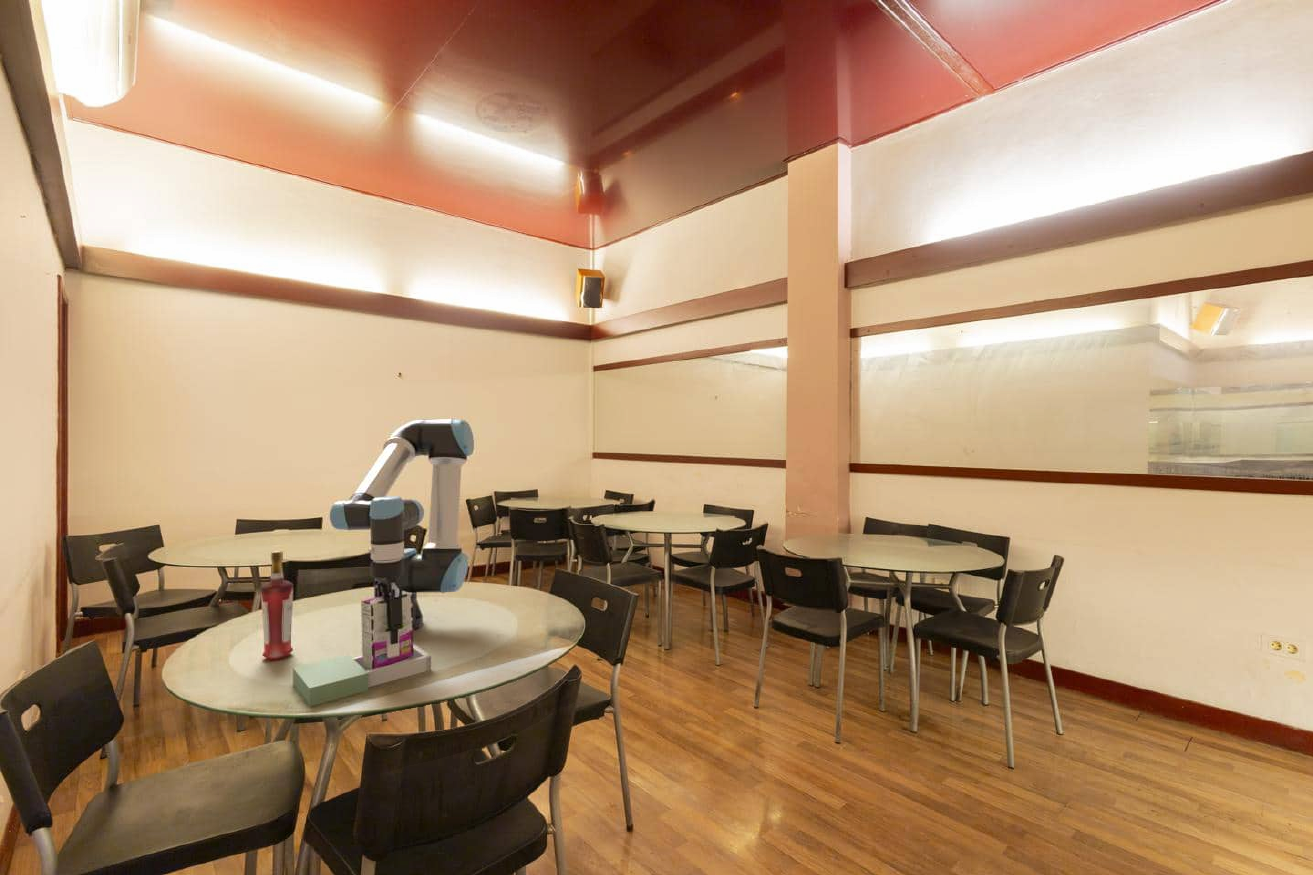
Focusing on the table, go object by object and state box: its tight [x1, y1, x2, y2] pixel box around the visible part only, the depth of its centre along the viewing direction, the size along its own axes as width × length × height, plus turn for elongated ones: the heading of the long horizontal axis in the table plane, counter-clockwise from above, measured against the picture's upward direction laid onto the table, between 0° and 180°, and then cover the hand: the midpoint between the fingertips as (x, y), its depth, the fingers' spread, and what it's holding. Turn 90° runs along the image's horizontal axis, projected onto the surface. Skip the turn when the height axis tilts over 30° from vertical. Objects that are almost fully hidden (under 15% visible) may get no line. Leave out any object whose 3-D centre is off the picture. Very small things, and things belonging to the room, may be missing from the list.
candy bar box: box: [360, 591, 414, 670], centre depth 147 cm, size 11×5×16 cm, turn 147°
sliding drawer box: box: [292, 643, 432, 708], centre depth 143 cm, size 16×27×4 cm, turn 133°
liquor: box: [260, 550, 294, 661], centre depth 157 cm, size 7×7×28 cm
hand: (388, 652), depth 147 cm, fingers closed on candy bar box, 6 cm apart
